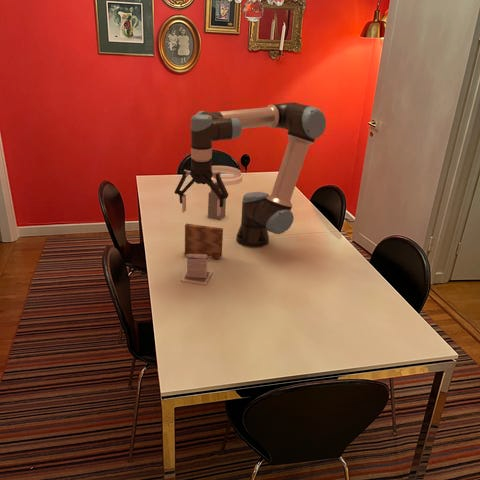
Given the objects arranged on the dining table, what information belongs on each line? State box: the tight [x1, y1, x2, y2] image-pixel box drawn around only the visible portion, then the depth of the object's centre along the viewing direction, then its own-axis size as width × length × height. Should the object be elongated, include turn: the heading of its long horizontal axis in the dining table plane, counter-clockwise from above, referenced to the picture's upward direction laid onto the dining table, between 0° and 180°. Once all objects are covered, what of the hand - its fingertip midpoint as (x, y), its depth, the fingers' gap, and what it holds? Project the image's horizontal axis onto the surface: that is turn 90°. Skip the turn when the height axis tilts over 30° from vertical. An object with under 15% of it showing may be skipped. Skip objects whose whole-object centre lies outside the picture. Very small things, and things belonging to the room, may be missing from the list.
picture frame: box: [180, 270, 213, 286], centre depth 184 cm, size 10×10×1 cm
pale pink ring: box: [211, 165, 243, 186], centre depth 301 cm, size 27×27×6 cm
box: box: [186, 254, 208, 278], centre depth 182 cm, size 8×4×9 cm, turn 92°
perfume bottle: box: [207, 182, 227, 221], centre depth 239 cm, size 7×7×18 cm
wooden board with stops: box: [184, 222, 224, 260], centre depth 200 cm, size 16×5×13 cm, turn 79°
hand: (201, 213), depth 179 cm, fingers open, 13 cm apart
